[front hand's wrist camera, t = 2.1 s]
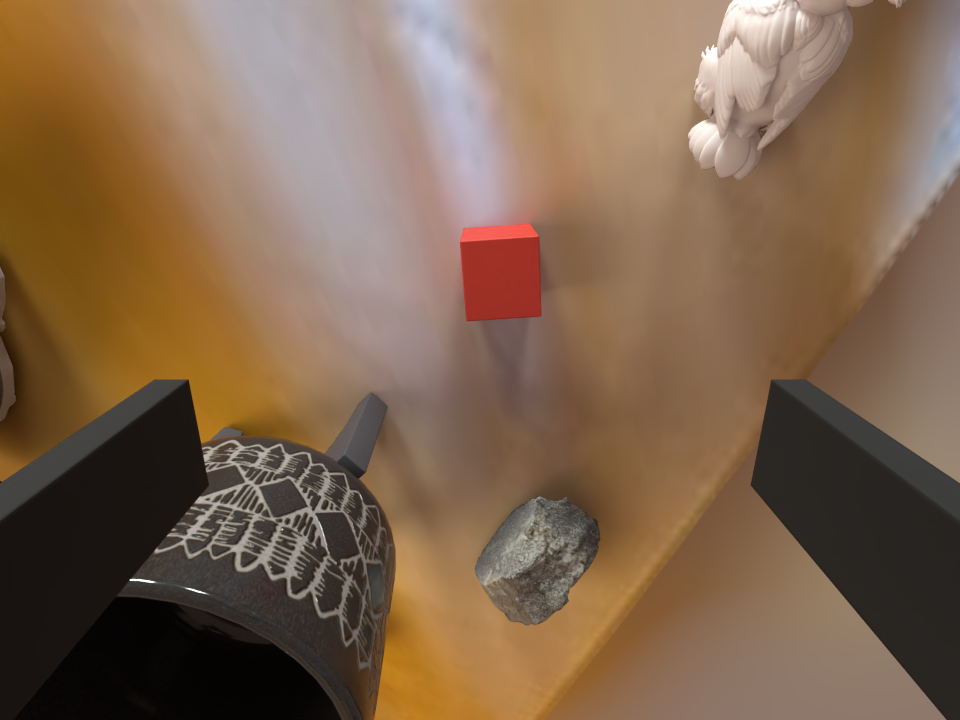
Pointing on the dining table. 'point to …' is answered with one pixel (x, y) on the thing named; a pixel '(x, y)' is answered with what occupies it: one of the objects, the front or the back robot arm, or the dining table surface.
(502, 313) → the brick
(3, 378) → the mechanical component
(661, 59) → the dining table surface
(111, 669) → the planter
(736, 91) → the figurine
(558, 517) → the rock
